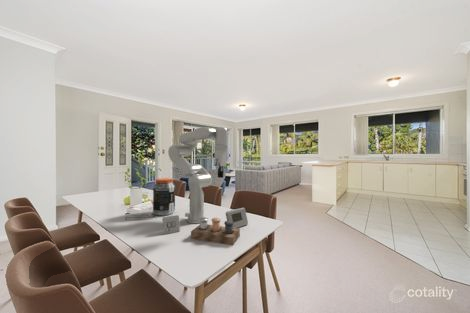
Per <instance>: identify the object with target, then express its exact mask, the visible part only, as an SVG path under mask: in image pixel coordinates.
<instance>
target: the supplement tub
mask: <svg viewBox="0 0 470 313" xmlns="http://www.w3.org/2000/svg"><path fill="white" fill-rule="evenodd" d="M152 191H153V192H152V197H153V198H152V213H153V212H154V213H153V214H154V215H155V216H169V215H172V214H174V213H175V212H176V185H175V183H174V179H173V178H167V177H166V178H163V177H162V178H156V179H155V184H154V185H153V189H152Z"/></svg>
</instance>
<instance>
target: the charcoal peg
mask: <svg viewBox="0 0 470 313" xmlns="http://www.w3.org/2000/svg"><path fill="white" fill-rule="evenodd" d="M224 227H225V233H226V234H232V230H233V221H227V220H225V221H224Z"/></svg>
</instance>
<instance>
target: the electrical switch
mask: <svg viewBox="0 0 470 313" xmlns="http://www.w3.org/2000/svg"><path fill="white" fill-rule="evenodd" d="M180 229H181V227H180V216H179V214H176V215H170V216H169V215H168V216H165V217H164V216H163V217H162V230H163V231H162V234H163V235H167V234H168V235H169V234H174V233H177V232H180V231H181V230H180Z"/></svg>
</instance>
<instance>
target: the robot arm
mask: <svg viewBox="0 0 470 313" xmlns="http://www.w3.org/2000/svg"><path fill="white" fill-rule="evenodd" d="M228 132H229V131H228V128H226V127H216V128H215V127H214V128H213V127H208V126H203V127H197V128H195V129H194V130H192V131H187V132H182V133H181V134H180V135H179V137H178V141H179V142H180V143H181V144H172V145H170V146H169V147H168V150H167V152H168V153H167V154H168V158H169V160H170V161H171V162H172V164H174V165H175V167H177V169H178V170H179V172H180V173H181V174H182V175H183V176H184V177H185V178H187V179H188V181H187V184H188V188H189V189H188V190H189V212H185V214H184V217H187V218H186V222H187V223H189V224H200V221H199V219H200V218H206V217H205V216H204V215H205V214H204V212H205V209H204V207H205V206H204V205H205V204H204V203H205V202H204V201H205V200H204V199H205V193H204V191H203V188H206V187H209V186H211V184H212V183H213V178H212V176H211V174H210V173H209V172H208V170H206V169H205V167H204V166H202V165H201V164H198V163H190V162H189V161H188V159H186V158H185V157H189V156H191V155H192V153H193V152H194V150H195V149H196V147H197V145H198V144H199V143H200V142H201V141H202V140H211V141H214V154H213V156H214V158H213V166H214V167H215V168H216V169H217V178H221V179H222V178H224V171H225V167H226V165H227V162H228V157H227V151H228V138H229V137H228V135H229V134H228Z"/></svg>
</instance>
